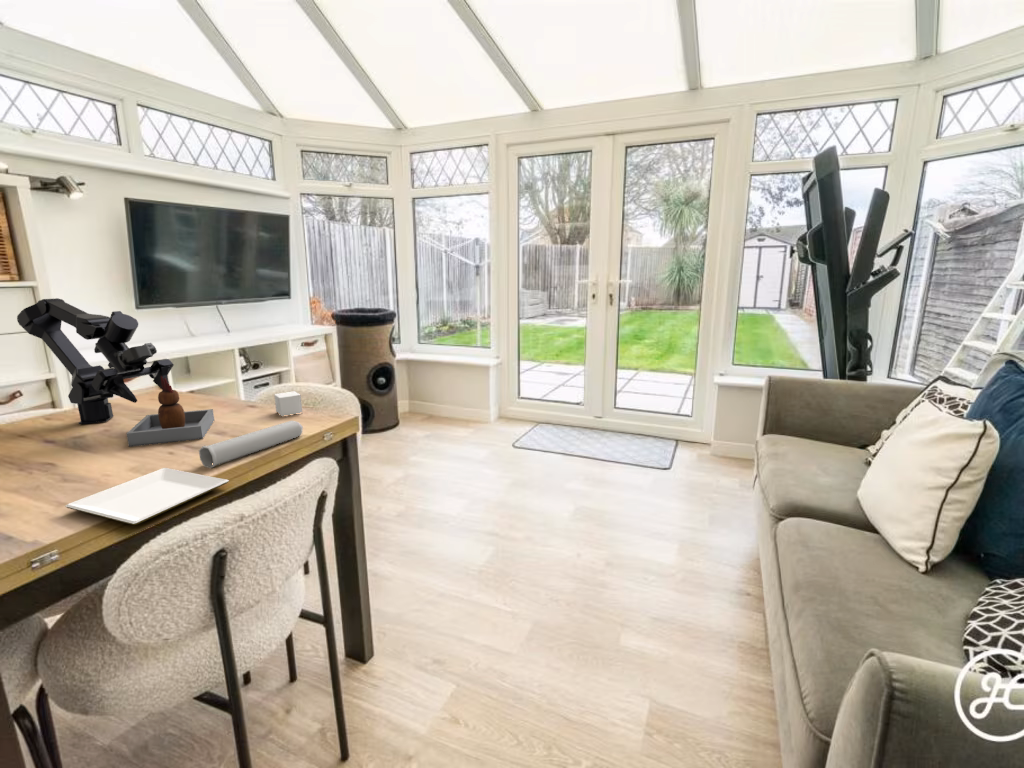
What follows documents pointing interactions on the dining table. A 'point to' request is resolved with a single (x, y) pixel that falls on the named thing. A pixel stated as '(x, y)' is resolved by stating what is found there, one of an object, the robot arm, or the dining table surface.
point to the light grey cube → (288, 403)
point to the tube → (248, 443)
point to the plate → (147, 495)
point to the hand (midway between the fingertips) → (153, 397)
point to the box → (170, 429)
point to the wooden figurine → (170, 407)
